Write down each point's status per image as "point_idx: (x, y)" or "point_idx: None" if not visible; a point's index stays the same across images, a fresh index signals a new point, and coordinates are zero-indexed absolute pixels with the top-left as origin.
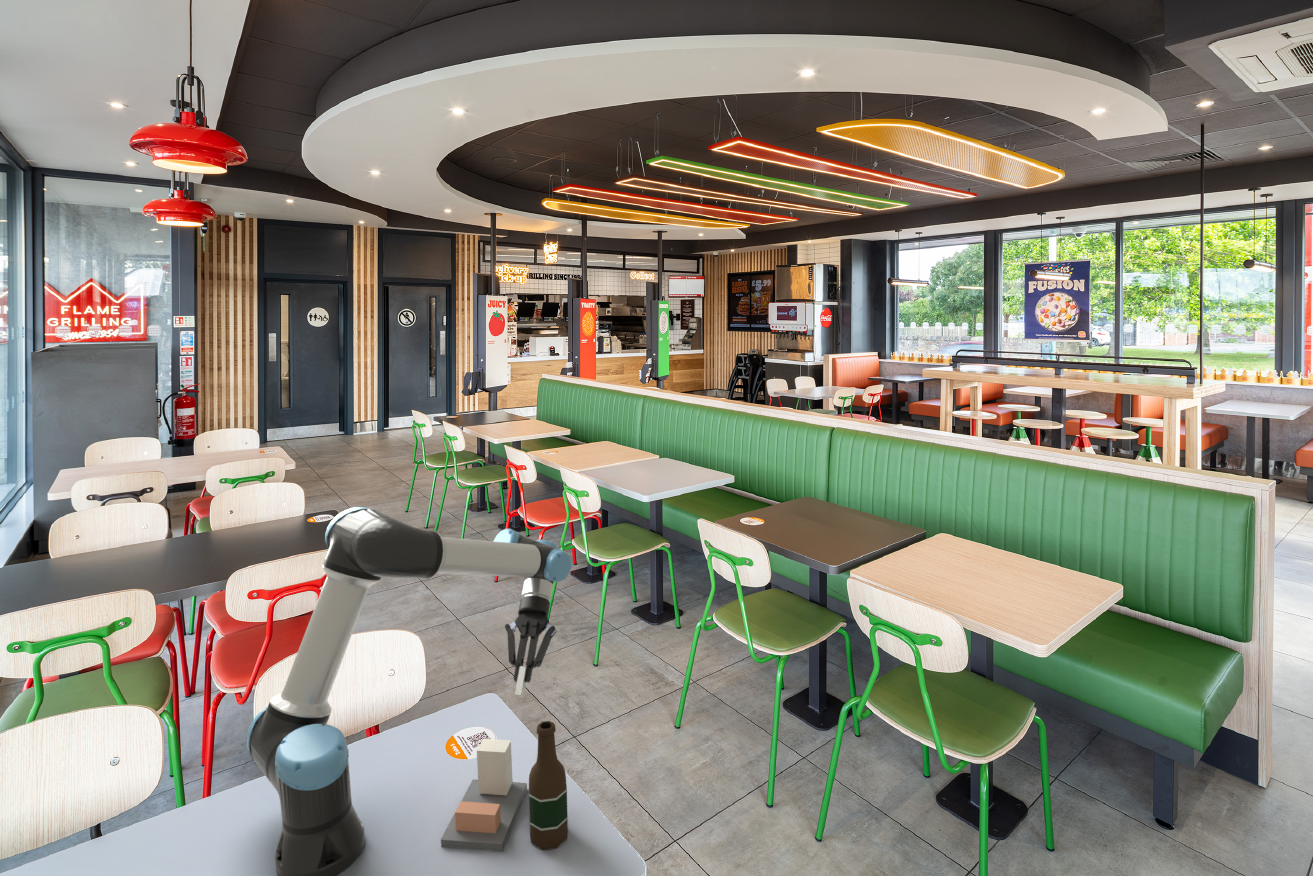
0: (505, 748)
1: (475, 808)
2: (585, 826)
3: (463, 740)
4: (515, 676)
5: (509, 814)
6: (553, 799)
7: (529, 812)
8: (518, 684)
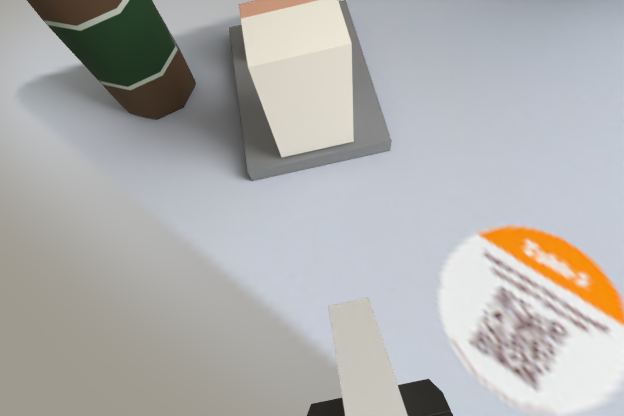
0: (248, 32)
1: (290, 3)
2: (96, 130)
3: (565, 311)
4: (433, 407)
5: (245, 83)
6: None
7: (153, 3)
8: (368, 345)
